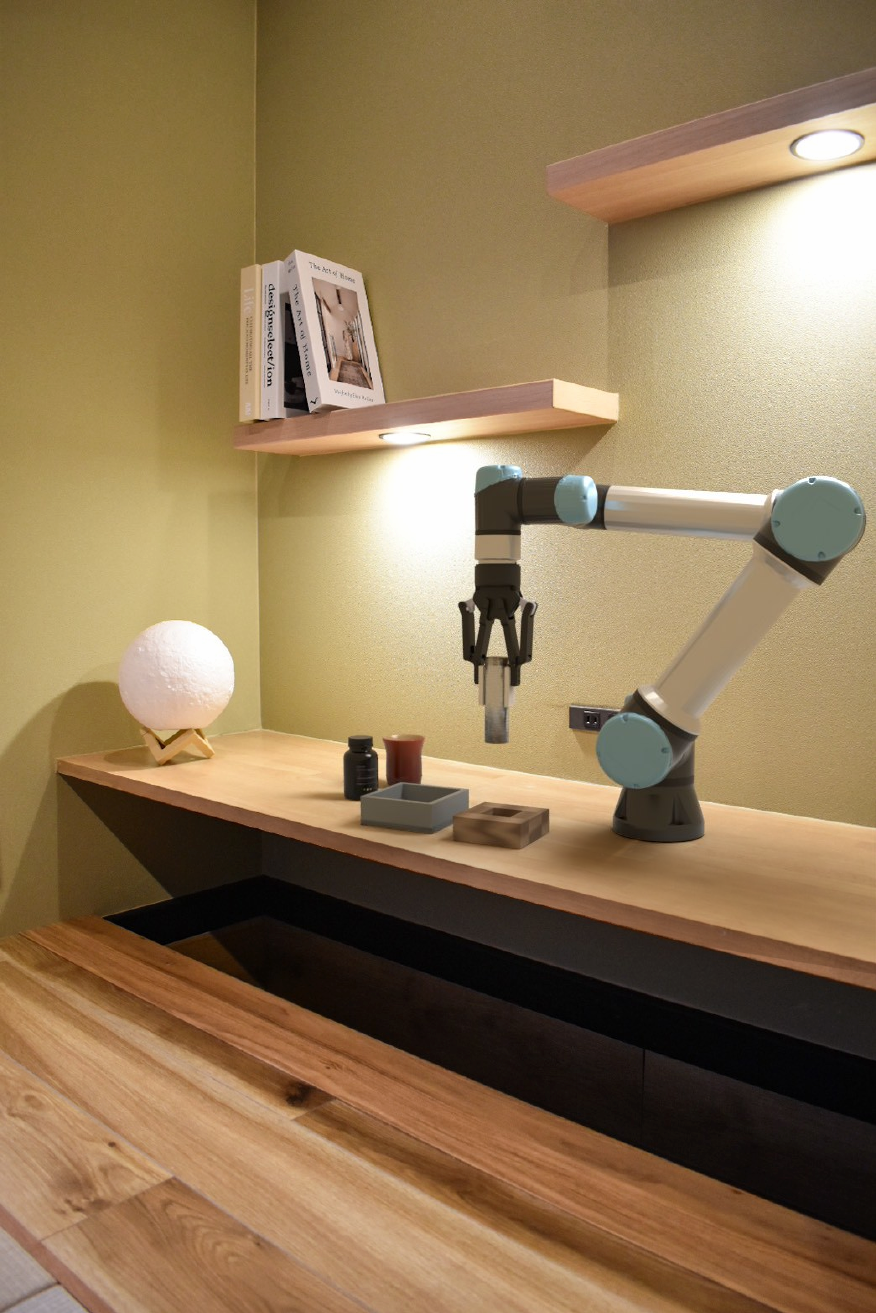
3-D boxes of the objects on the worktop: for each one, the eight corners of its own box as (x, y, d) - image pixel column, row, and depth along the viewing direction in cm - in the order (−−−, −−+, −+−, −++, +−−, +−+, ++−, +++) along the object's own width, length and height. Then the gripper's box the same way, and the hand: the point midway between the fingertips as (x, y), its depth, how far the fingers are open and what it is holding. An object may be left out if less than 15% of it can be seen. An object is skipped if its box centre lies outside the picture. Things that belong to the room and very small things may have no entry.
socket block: (549, 832, 170) (549, 808, 170) (520, 848, 160) (520, 823, 159) (484, 824, 176) (484, 801, 176) (452, 840, 165) (452, 815, 165)
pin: (512, 741, 168) (513, 656, 167) (502, 744, 165) (503, 658, 163) (490, 739, 170) (491, 655, 169) (480, 742, 166) (480, 657, 165)
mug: (431, 789, 206) (431, 739, 205) (390, 792, 203) (390, 741, 202) (412, 778, 217) (411, 730, 217) (372, 781, 214) (372, 733, 214)
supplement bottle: (338, 796, 200) (337, 735, 199) (370, 792, 203) (369, 733, 202) (351, 802, 194) (351, 740, 193) (384, 799, 197) (383, 737, 196)
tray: (468, 816, 182) (468, 789, 181) (431, 833, 170) (431, 804, 169) (401, 808, 188) (401, 782, 188) (360, 824, 176) (360, 796, 176)
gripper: (555, 562, 164) (553, 706, 166) (461, 563, 172) (460, 700, 174) (537, 561, 158) (536, 711, 159) (440, 562, 166) (440, 704, 167)
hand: (496, 705), depth 167 cm, fingers closed on pin, 4 cm apart
